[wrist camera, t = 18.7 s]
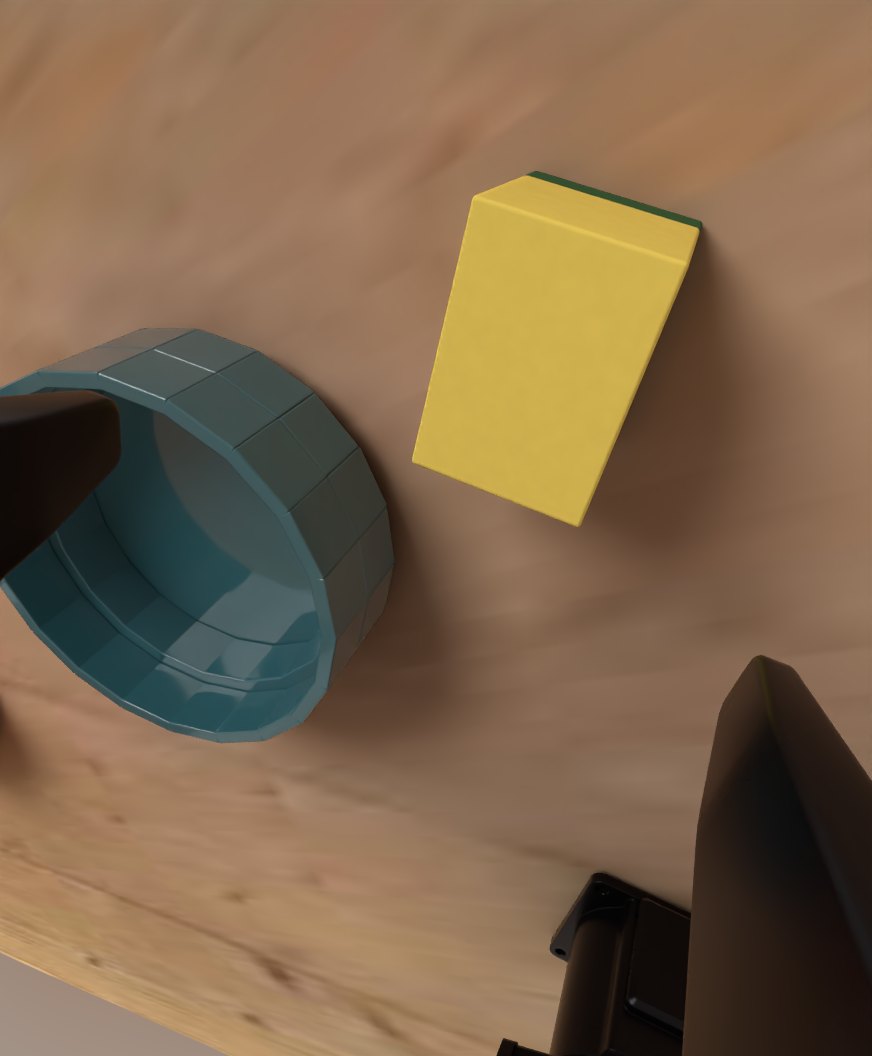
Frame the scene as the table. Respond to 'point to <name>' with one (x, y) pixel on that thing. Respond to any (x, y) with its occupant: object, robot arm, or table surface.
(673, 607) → the table surface
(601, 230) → the sponge
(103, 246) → the table surface
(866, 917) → the robot arm
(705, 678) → the table surface
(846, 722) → the table surface
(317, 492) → the bowl
